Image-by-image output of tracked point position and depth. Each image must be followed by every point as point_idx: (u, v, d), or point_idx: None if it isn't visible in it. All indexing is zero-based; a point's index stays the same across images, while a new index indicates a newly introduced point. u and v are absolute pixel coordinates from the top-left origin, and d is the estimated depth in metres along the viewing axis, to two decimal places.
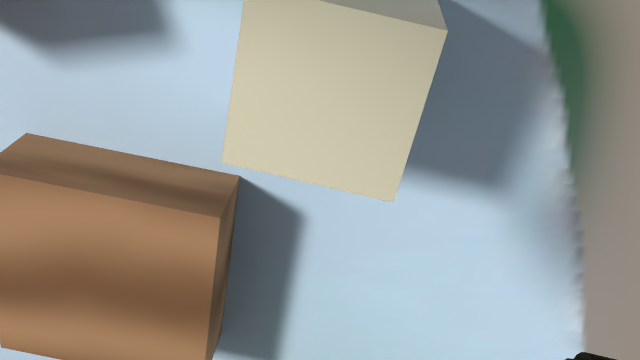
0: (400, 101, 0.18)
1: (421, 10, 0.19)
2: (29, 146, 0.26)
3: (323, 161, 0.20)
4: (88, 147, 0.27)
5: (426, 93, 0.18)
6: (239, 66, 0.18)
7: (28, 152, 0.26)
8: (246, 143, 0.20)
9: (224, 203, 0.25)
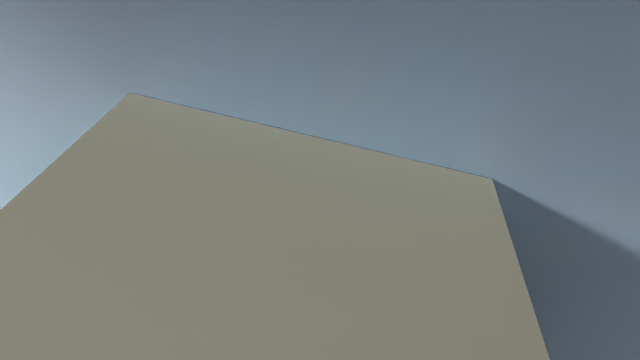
0: None
1: (486, 353, 0.06)
2: None
3: None
4: None
5: None
6: None
7: None
8: None
9: None
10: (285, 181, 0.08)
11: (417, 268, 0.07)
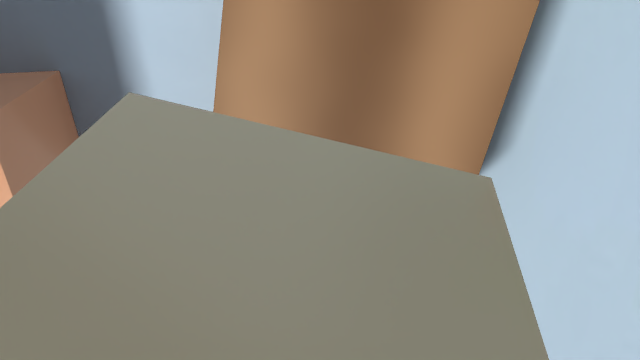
0: None
1: (484, 352, 0.06)
2: None
3: None
4: None
5: None
6: None
7: None
8: None
9: None
10: (284, 180, 0.08)
11: (415, 267, 0.07)
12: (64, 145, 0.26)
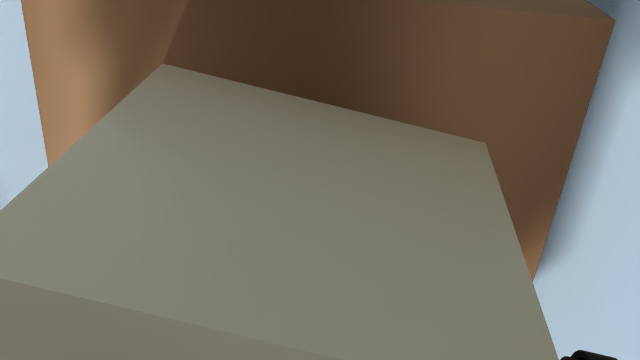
0: None
1: (477, 270, 0.07)
2: None
3: None
4: None
5: None
6: None
7: None
8: None
9: None
10: (303, 137, 0.09)
11: (419, 208, 0.08)
12: None
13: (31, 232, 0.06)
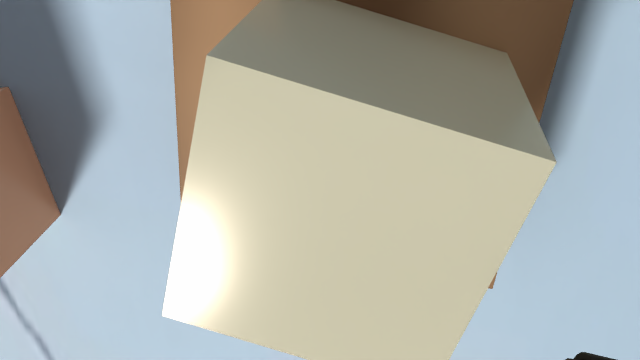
0: (457, 260, 0.11)
1: (500, 105, 0.11)
2: None
3: (321, 330, 0.12)
4: None
5: (503, 252, 0.11)
6: (192, 183, 0.11)
7: None
8: (201, 294, 0.12)
9: None
10: (383, 33, 0.13)
11: (463, 74, 0.12)
12: (19, 175, 0.22)
13: (243, 50, 0.10)
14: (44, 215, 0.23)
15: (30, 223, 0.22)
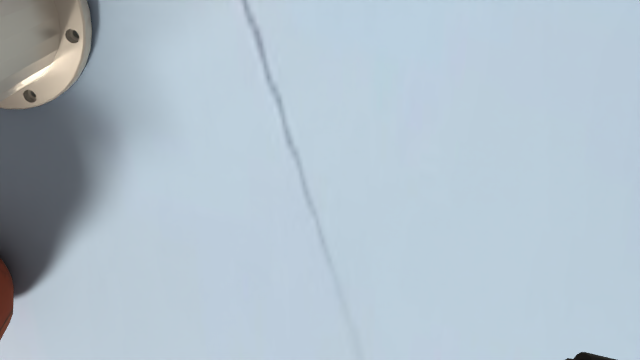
0: None
1: None
2: None
3: None
4: None
5: None
6: None
7: None
8: None
9: None
10: None
11: None
12: None
13: None
14: None
15: None
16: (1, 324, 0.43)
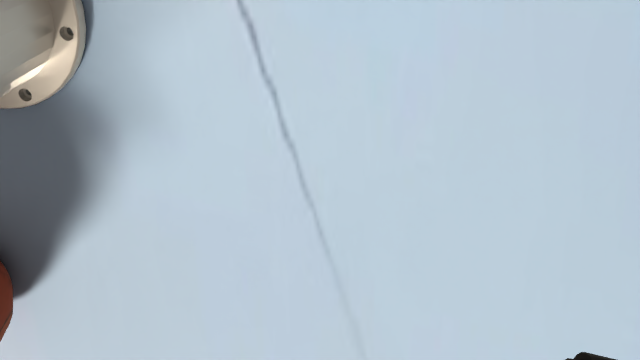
0: None
1: None
2: None
3: None
4: None
5: None
6: None
7: None
8: None
9: None
10: None
11: None
12: None
13: None
14: None
15: None
16: (1, 324, 0.43)
